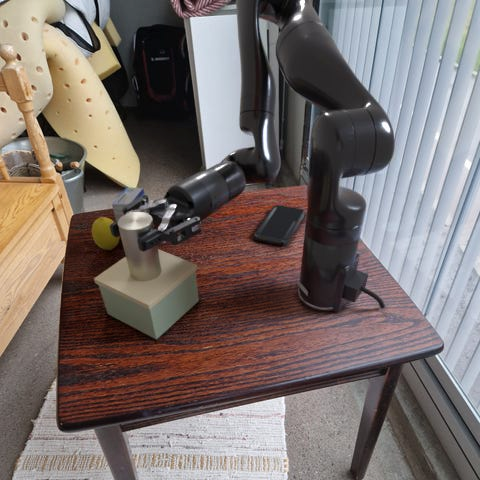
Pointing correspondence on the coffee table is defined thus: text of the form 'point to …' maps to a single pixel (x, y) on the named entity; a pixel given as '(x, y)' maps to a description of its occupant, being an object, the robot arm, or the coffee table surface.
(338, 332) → the coffee table surface
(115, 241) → the lemon
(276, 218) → the phone
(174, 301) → the storage box
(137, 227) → the tea tin
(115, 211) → the medicine box
